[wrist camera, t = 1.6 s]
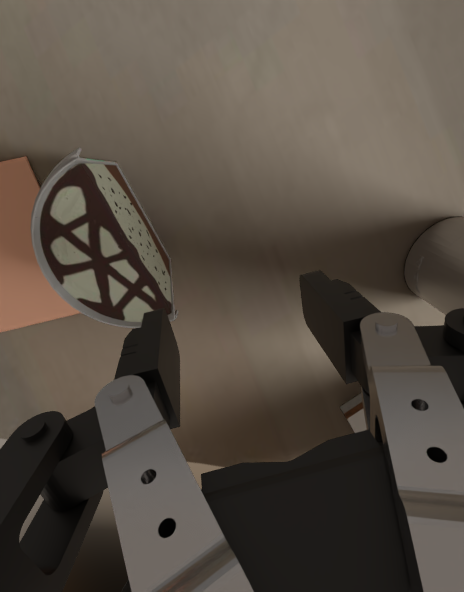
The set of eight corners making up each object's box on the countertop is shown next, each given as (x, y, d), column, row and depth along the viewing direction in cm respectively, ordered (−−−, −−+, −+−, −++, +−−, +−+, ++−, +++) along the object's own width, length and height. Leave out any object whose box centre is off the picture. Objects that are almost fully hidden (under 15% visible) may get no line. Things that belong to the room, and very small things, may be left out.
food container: (38, 176, 27) (-32, 198, 18) (106, 143, 26) (69, 148, 17) (121, 298, 32) (100, 361, 23) (178, 272, 32) (178, 325, 23)
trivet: (26, 156, 26) (25, 156, 26) (94, 308, 32) (94, 309, 32) (-110, 186, 25) (-113, 186, 25) (-13, 334, 32) (-15, 335, 32)
